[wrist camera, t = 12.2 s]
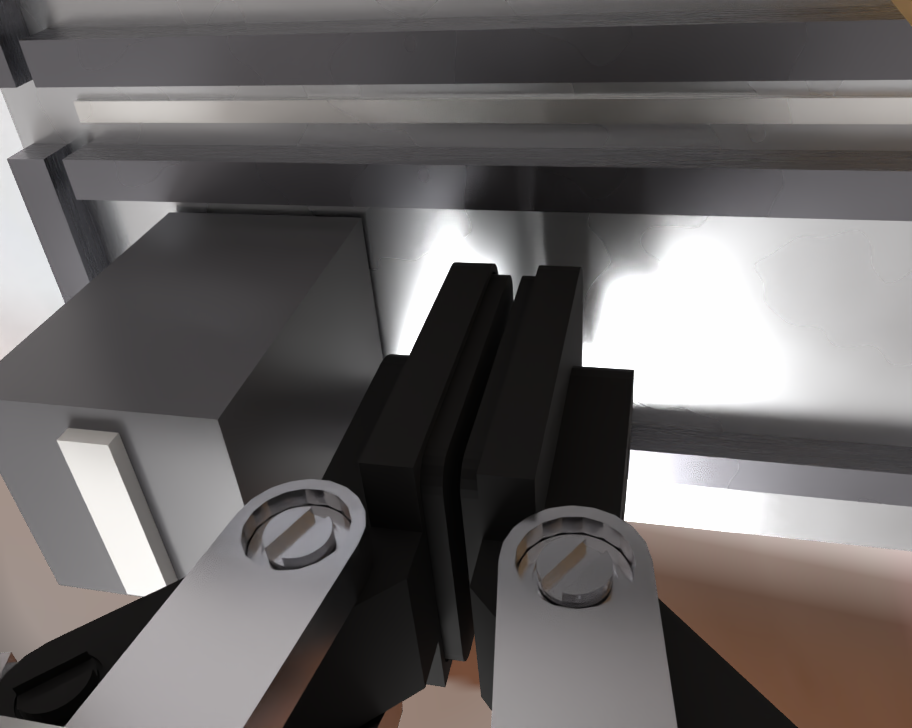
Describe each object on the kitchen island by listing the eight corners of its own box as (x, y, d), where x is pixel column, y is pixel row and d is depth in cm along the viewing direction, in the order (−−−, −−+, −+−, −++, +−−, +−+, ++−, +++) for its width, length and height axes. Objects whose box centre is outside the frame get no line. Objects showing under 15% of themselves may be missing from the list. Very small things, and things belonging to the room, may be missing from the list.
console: (-113, -550, 10) (-331, -632, 8) (1702, -948, 6) (2217, -1306, 4) (196, 405, 18) (131, 491, 16) (1054, 479, 14) (1115, 603, 12)
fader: (168, 212, 12) (-54, 408, 9) (360, 218, 12) (208, 433, 8) (218, 375, 14) (49, 597, 10) (387, 388, 13) (271, 630, 10)
